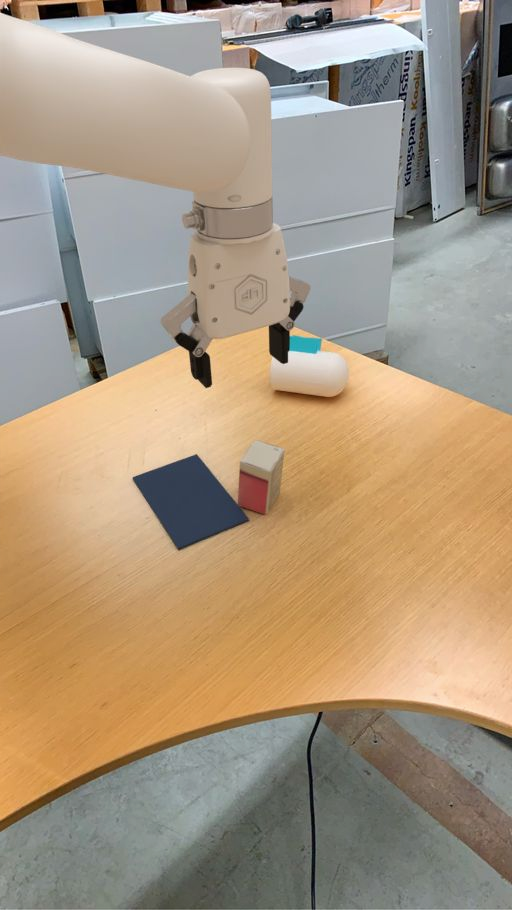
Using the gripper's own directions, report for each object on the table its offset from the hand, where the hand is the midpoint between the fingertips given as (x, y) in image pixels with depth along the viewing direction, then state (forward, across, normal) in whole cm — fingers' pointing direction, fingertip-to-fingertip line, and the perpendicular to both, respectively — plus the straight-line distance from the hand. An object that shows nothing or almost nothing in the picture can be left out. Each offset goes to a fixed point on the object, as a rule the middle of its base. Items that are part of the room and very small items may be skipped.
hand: (241, 370), depth 74 cm
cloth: (+21, -6, +6) cm, 23 cm away
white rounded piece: (+21, +24, +21) cm, 38 cm away
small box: (+21, +2, 0) cm, 21 cm away
